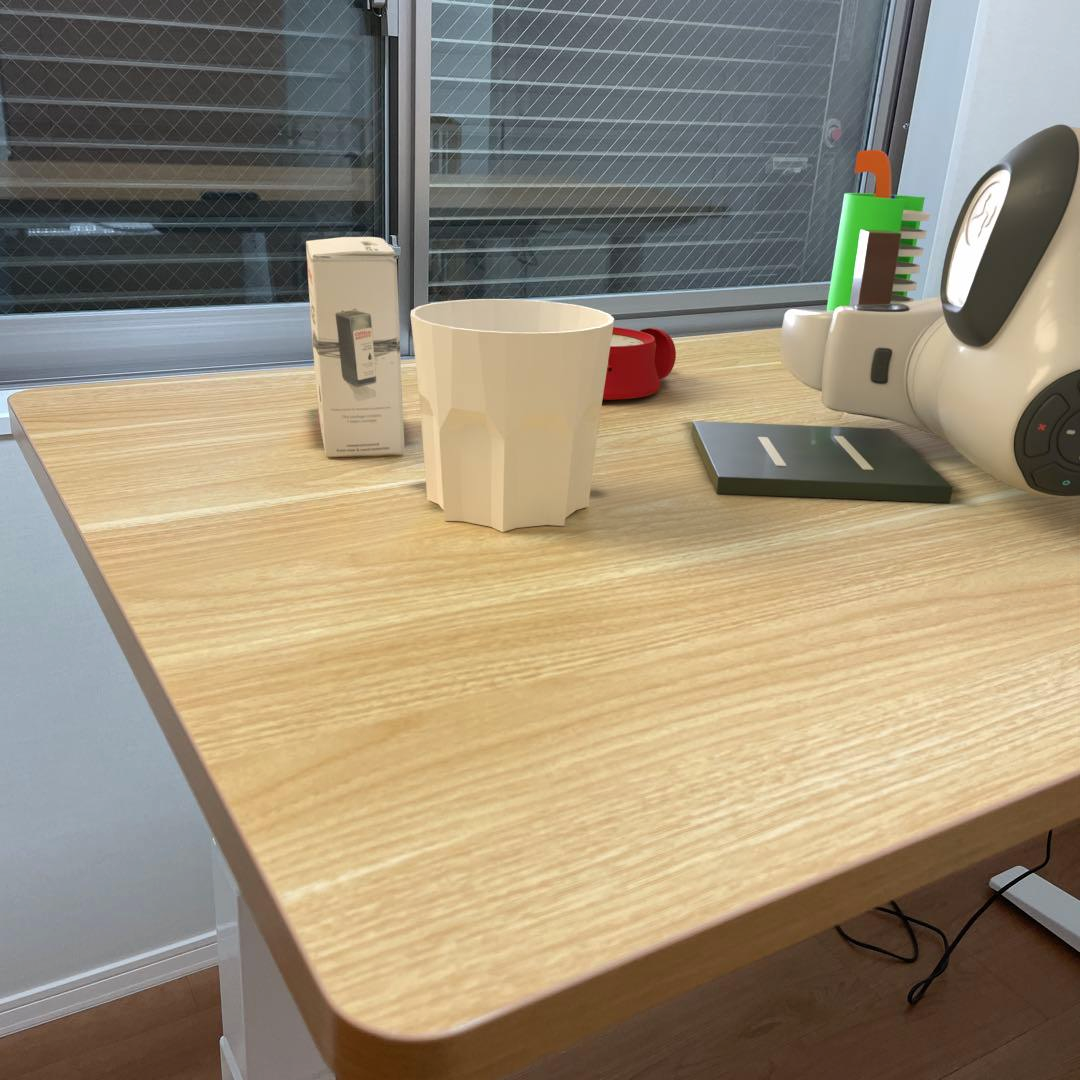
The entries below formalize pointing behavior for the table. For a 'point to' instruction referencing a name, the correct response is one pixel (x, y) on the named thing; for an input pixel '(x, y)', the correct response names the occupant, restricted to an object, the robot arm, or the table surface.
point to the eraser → (875, 267)
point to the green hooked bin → (877, 215)
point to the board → (815, 462)
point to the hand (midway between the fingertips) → (900, 327)
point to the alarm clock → (637, 362)
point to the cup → (510, 407)
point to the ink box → (356, 345)
